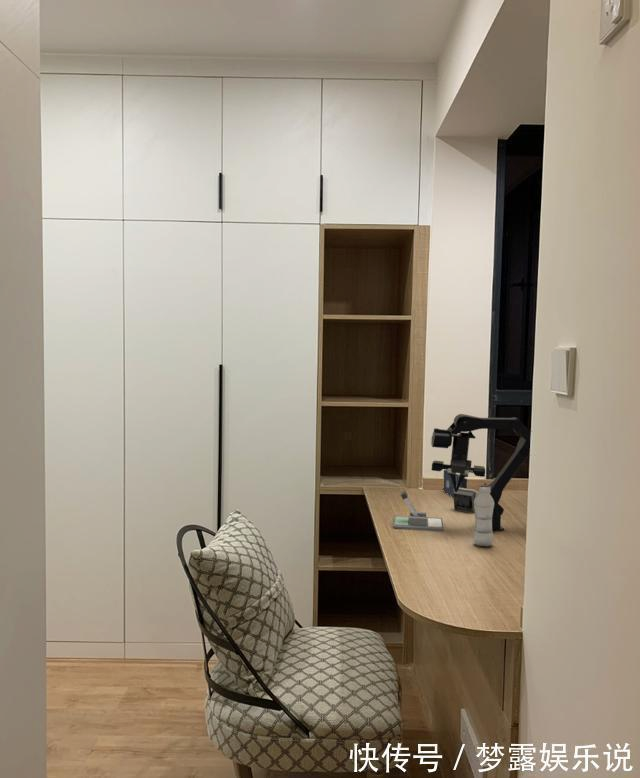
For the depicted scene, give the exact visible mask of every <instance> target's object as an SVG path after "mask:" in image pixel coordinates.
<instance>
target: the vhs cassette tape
mask: <svg viewBox="0 0 640 778" xmlns="http://www.w3.org/2000/svg"><path fill="white" fill-rule="evenodd" d="M447 473H448V471H447V470H446V469H443V478H444V488H443V487H442V491H443V490H444V491H445V492H446V493H448V494H449V495H448V494H447V495H448V496H450V495H451V496H452V498H453V493H454V485H453V481H452V478H451V476H450V475H448V474H447ZM443 478H442V479H443ZM458 479H459V473H456V487H457V483H458ZM467 484H468V478H467V477H465V478H464V479H463V481H462V482H461V484H460V487H459V488H465V489H468V486H467ZM446 493H445V494H446ZM451 496H450V497H451Z"/></svg>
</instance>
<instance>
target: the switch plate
mask: <svg viewBox="0 0 640 778" xmlns="http://www.w3.org/2000/svg"><path fill="white" fill-rule="evenodd" d="M417 513H418V515H419V516H420V517H415V516H414V515H413V514H412V512H411V510H410V511H409V515H394V516H393V524H392V529H393V528H397V529H396V530H411V529H413V531H414V530H416V531H431V532H445V528H444V521H443V517H433V516H432V517H429V516H427V511H417Z"/></svg>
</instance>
